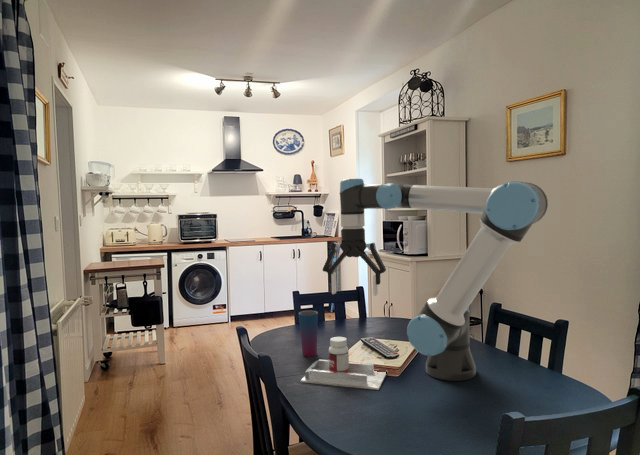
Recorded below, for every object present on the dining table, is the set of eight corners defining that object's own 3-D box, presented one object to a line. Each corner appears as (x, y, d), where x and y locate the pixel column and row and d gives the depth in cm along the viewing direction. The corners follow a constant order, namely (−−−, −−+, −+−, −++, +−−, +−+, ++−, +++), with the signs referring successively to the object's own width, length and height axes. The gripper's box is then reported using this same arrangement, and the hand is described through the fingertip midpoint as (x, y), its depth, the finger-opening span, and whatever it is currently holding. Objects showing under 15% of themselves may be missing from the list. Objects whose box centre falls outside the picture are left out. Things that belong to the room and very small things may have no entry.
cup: (297, 356, 165) (295, 314, 164) (304, 350, 171) (303, 310, 170) (314, 358, 162) (313, 315, 161) (321, 352, 168) (320, 311, 168)
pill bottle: (326, 372, 146) (325, 337, 146) (343, 369, 149) (343, 335, 148) (334, 379, 141) (333, 342, 140) (352, 376, 143) (351, 340, 142)
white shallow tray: (387, 372, 147) (387, 362, 147) (378, 390, 133) (378, 379, 133) (315, 366, 154) (315, 357, 154) (300, 382, 141) (300, 372, 141)
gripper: (394, 226, 147) (395, 292, 148) (319, 227, 155) (321, 290, 156) (389, 228, 140) (391, 297, 141) (311, 228, 148) (313, 294, 149)
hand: (354, 294), depth 148 cm, fingers open, 13 cm apart
